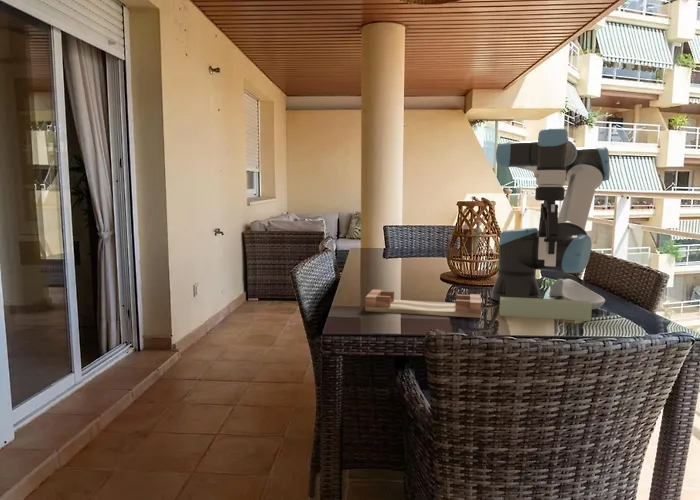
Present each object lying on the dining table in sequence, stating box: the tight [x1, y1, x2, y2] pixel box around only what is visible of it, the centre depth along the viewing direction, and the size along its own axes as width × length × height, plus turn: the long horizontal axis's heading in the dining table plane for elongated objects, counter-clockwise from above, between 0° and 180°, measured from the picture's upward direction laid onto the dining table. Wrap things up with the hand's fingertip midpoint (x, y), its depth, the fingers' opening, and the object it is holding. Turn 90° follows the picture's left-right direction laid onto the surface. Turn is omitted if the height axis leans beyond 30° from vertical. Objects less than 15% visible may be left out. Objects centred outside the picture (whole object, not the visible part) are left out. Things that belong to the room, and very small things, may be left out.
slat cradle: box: [364, 288, 482, 319], centre depth 153 cm, size 12×33×4 cm, turn 77°
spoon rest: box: [548, 278, 606, 311], centre depth 162 cm, size 24×12×7 cm, turn 5°
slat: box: [499, 297, 593, 322], centre depth 145 cm, size 4×24×5 cm, turn 77°
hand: (546, 262), depth 144 cm, fingers open, 13 cm apart
